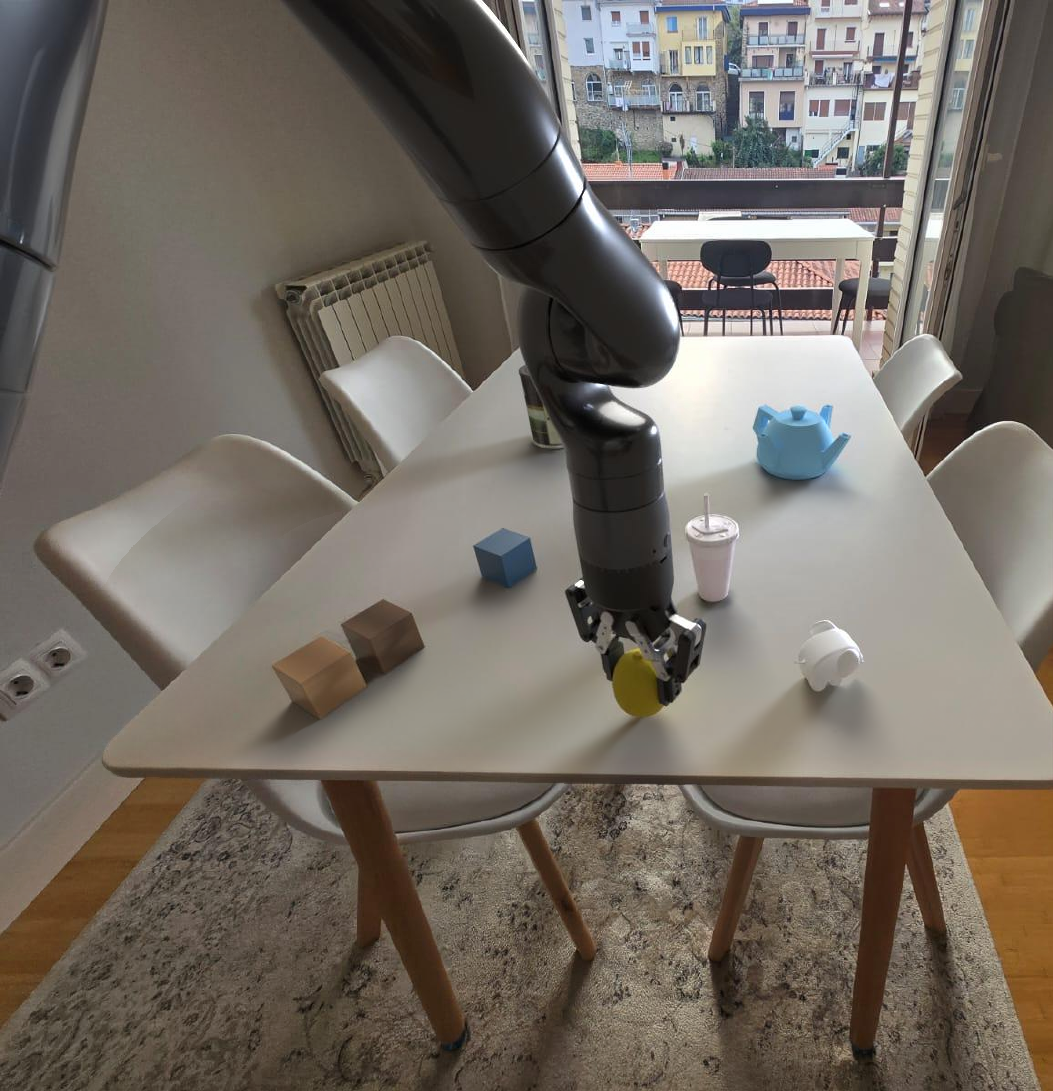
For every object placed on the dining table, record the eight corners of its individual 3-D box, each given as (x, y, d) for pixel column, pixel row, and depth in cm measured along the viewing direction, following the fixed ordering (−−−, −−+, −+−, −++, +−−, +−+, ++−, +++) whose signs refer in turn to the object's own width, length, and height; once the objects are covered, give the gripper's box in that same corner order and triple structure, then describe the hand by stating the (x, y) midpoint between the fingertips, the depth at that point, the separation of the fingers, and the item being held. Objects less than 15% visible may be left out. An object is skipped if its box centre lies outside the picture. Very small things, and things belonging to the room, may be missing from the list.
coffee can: (524, 448, 114) (509, 375, 106) (543, 428, 122) (530, 359, 115) (576, 450, 113) (565, 376, 105) (592, 429, 121) (582, 360, 114)
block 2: (384, 674, 64) (369, 639, 61) (356, 658, 66) (340, 624, 63) (425, 646, 67) (411, 612, 65) (396, 632, 70) (383, 598, 67)
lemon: (670, 734, 57) (664, 674, 52) (612, 734, 57) (602, 673, 53) (675, 691, 61) (670, 632, 57) (622, 691, 62) (613, 632, 57)
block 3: (508, 588, 76) (500, 556, 74) (481, 577, 79) (472, 545, 76) (537, 568, 80) (530, 537, 77) (510, 558, 82) (502, 527, 80)
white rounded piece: (876, 690, 61) (884, 647, 58) (806, 712, 59) (810, 668, 56) (843, 648, 67) (848, 606, 63) (778, 666, 64) (780, 624, 61)
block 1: (320, 719, 59) (299, 683, 56) (291, 700, 61) (270, 665, 58) (367, 686, 62) (350, 651, 60) (338, 670, 64) (321, 635, 62)
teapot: (831, 447, 113) (836, 392, 107) (847, 483, 100) (853, 422, 94) (751, 448, 113) (752, 393, 107) (756, 485, 100) (757, 424, 94)
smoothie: (693, 575, 78) (688, 480, 71) (741, 579, 78) (742, 483, 70) (683, 606, 73) (677, 506, 65) (735, 610, 72) (735, 510, 65)
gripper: (525, 538, 48) (559, 685, 58) (672, 590, 42) (683, 745, 52) (587, 499, 54) (609, 639, 63) (724, 540, 48) (726, 689, 57)
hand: (642, 686), depth 57 cm, fingers closed on lemon, 5 cm apart
